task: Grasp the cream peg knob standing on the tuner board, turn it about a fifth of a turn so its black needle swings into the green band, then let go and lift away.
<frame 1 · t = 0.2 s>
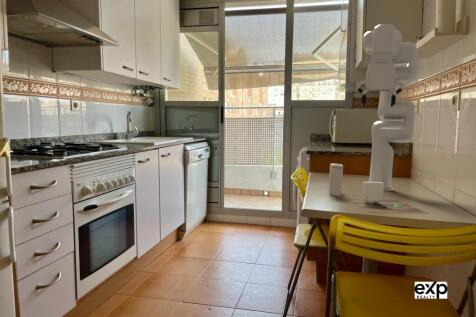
hand: (377, 106, 136), 36 cm above the table, tool pointing down, fingers open, 9 cm apart
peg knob: (377, 194, 127), point 5 cm above the table, hinge at 0.0°
supplement box: (334, 196, 146), on the table
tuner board: (382, 207, 129), on the table
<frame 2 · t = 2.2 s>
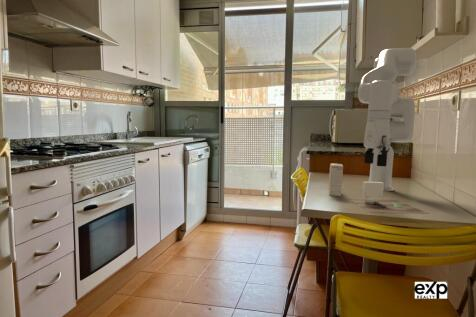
hand: (374, 164, 129), 15 cm above the table, tool pointing down, fingers open, 9 cm apart
nothing on the table moved.
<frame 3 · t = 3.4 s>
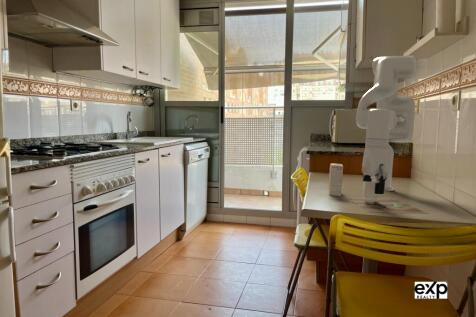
hand: (372, 191, 130), 6 cm above the table, tool pointing down, fingers open, 9 cm apart
nothing on the table moved.
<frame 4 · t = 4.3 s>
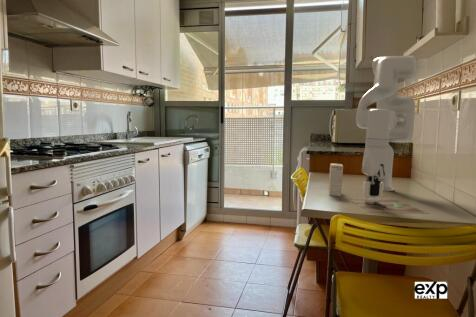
hand: (372, 194, 131), 4 cm above the table, tool pointing down, fingers closed on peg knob, 2 cm apart
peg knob: (377, 194, 127), point 5 cm above the table, hinge at 0.0°, touching gripper
everything else where it was.
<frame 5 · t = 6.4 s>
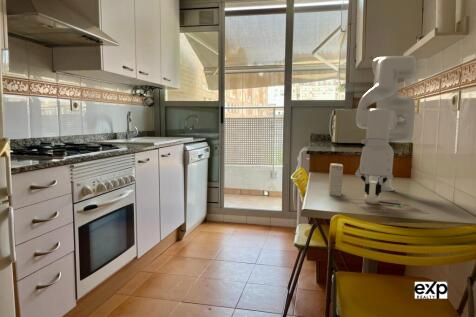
hand: (372, 194, 130), 4 cm above the table, tool pointing down, fingers closed on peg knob, 2 cm apart
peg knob: (382, 193, 129), point 5 cm above the table, hinge at 61.5°, touching gripper
everything else where it was.
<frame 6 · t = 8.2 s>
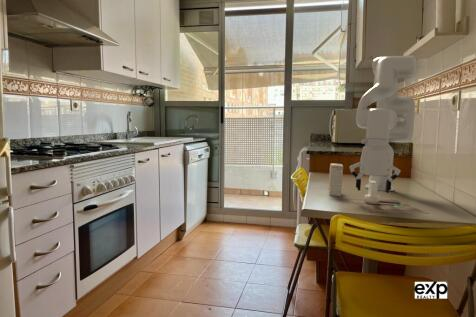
hand: (372, 190, 131), 6 cm above the table, tool pointing down, fingers open, 9 cm apart
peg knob: (382, 193, 130), point 5 cm above the table, hinge at 72.8°
everything else where it was.
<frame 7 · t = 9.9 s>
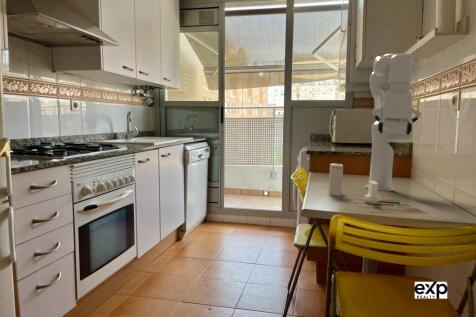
hand: (394, 133, 139), 26 cm above the table, tool pointing down, fingers open, 9 cm apart
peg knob: (382, 193, 130), point 5 cm above the table, hinge at 73.8°
everything else where it was.
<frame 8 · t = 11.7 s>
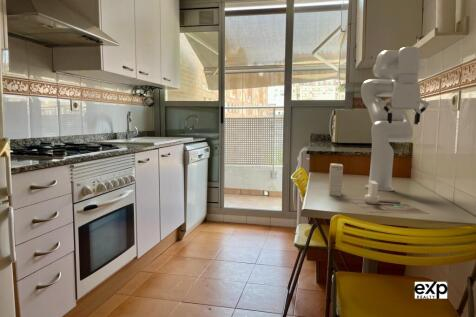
hand: (402, 123, 143), 30 cm above the table, tool pointing down, fingers open, 9 cm apart
nothing on the table moved.
at the end: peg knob at +74° (first picture: +0°); the gripper is holding nothing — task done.
